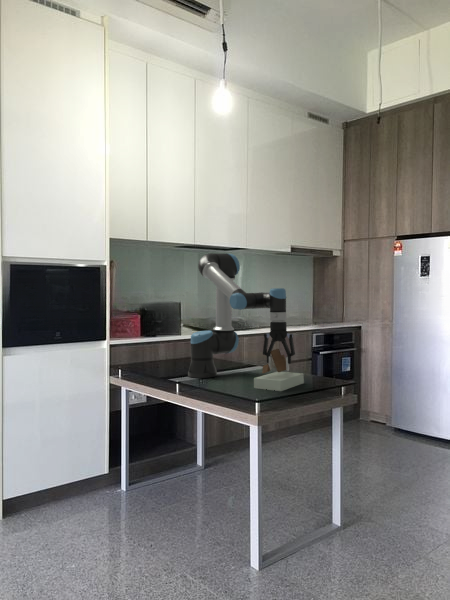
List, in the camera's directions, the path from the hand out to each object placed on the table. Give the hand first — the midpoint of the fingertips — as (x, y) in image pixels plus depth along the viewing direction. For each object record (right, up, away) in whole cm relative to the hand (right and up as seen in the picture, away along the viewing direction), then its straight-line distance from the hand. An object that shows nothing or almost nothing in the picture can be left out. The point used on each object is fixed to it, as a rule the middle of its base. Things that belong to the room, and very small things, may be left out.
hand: (279, 370), depth 232 cm
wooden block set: (0, -1, +1) cm, 2 cm away
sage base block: (0, -8, 0) cm, 8 cm away
